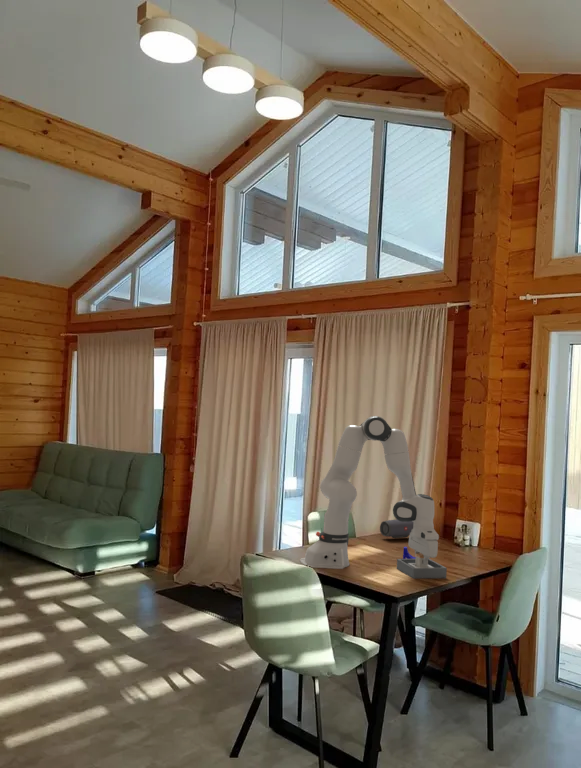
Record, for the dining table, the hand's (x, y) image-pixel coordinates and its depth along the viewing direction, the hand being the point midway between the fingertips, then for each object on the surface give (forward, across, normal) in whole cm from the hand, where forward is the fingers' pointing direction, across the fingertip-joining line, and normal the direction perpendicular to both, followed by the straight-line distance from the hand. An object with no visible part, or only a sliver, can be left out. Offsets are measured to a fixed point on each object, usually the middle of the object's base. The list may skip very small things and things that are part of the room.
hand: (421, 562), depth 290 cm
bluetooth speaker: (+6, -71, +25) cm, 75 cm away
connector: (+4, 0, 0) cm, 4 cm away
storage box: (+5, 0, 0) cm, 5 cm away
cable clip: (+6, -22, +9) cm, 25 cm away
